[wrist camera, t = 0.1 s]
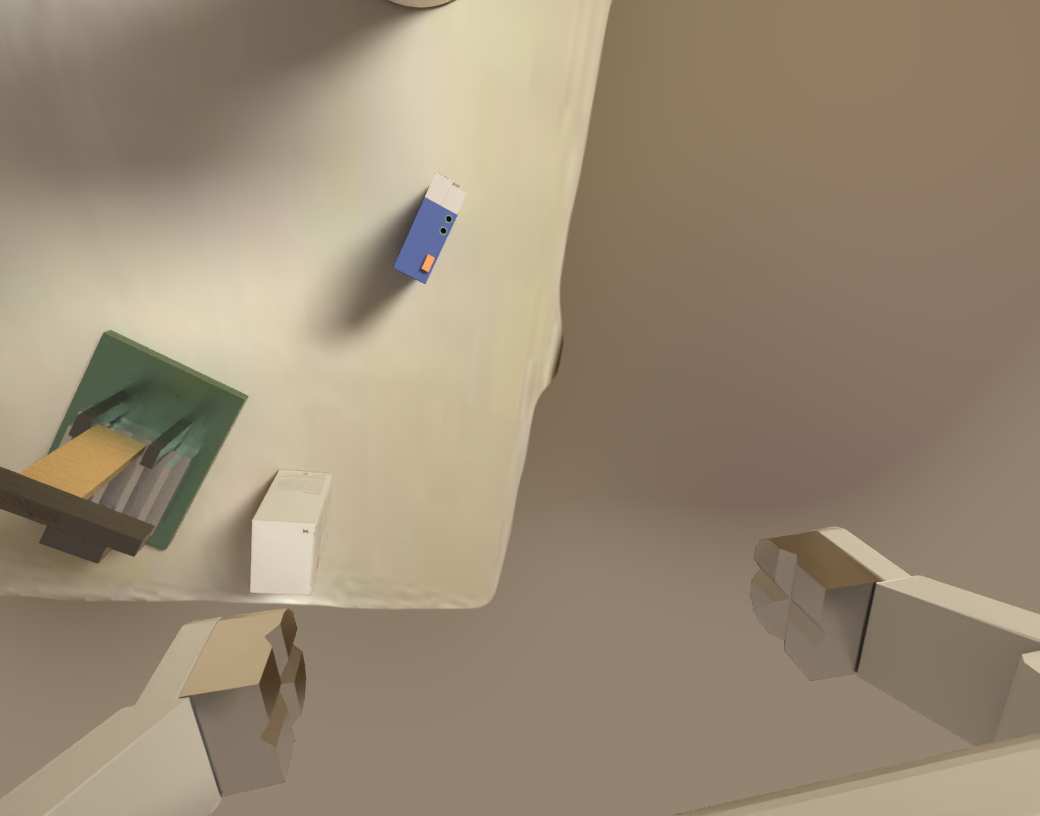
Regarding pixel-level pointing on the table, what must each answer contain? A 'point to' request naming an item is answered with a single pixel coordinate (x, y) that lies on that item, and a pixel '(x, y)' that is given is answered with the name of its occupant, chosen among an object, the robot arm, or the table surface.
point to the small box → (290, 533)
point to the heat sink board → (160, 408)
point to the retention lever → (78, 490)
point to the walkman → (430, 228)
